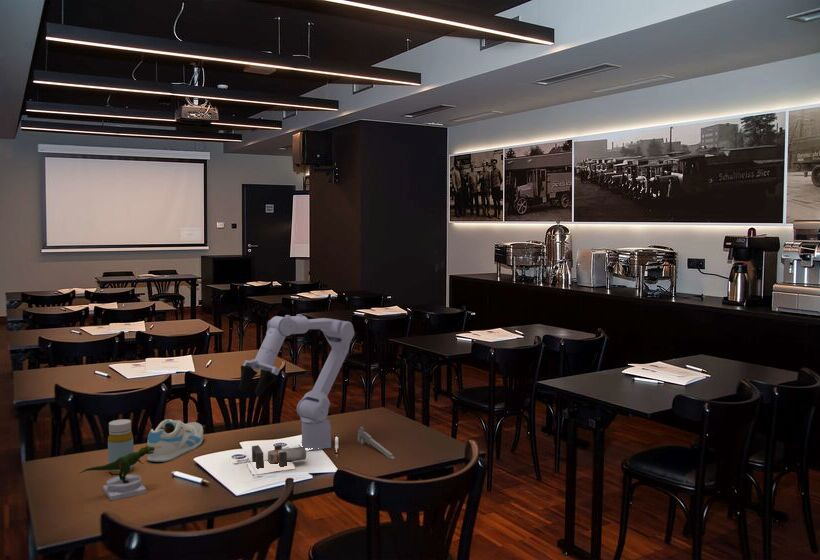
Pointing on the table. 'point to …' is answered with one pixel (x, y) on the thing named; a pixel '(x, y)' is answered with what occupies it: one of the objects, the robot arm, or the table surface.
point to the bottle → (119, 441)
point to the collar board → (258, 456)
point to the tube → (292, 455)
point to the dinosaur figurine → (124, 476)
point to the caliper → (372, 442)
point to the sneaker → (173, 439)
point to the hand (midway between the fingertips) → (249, 392)
